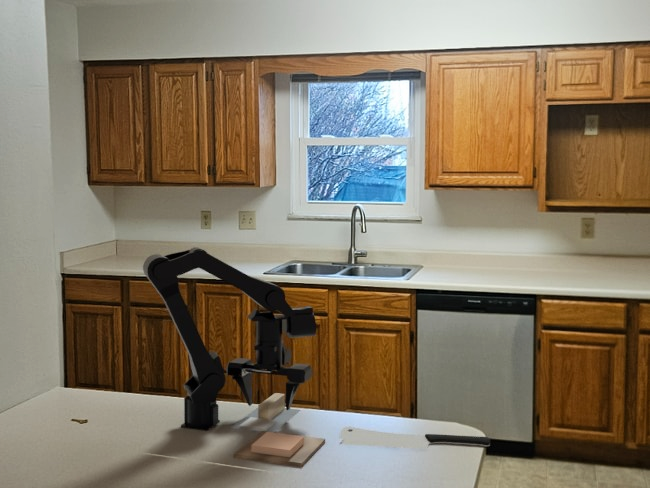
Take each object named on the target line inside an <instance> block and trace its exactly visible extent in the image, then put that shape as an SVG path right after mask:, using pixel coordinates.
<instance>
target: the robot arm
mask: <svg viewBox="0 0 650 488" xmlns="http://www.w3.org/2000/svg"><path fill="white" fill-rule="evenodd" d="M196 269H200V270H202V271H204V272H206V273H208V274H210V275H212V276H214V277H216V278H218V279H219V280H221V281H223V282H225V283H226V284H229V285H230V286H232V287H234V288H236V289H238V290H240V291H241V292H242V293H244V294H245V295H246V296H247V297H248V298H250V299H251V301H253V302H255V303H256V304H257V305H258V306H260V307H262V308H263V309H264V310H266V311H259V310H258V309H257V308H254V309H253V310H252V312H251V313H249V314H248V315H247V317H246V318H247V319H248V320H250V321H251V322H256V343H255V345H254V346H253V348H254V349H253V351H254V350H255V351H256V360H255V361H256V362H255V363H253V361H252V359H251V358H244V357H243V358H242V357H236V358H235V359H233V360H231V361H229V362H228V363H227V364H226V369H225V368H224V367H223V365H222V361H221V358H220V356H219V354H218V353H216V351H214V350H210V352H209V351H208V349H207V348H206V345H205V344H204V341H203V339H202V337H201V334H200V333H199V331H198V328H197V326H196V324H195V322H194V320H193V318H192V315H191V313H190V312H189V309H188V307H187V304H186V302H185V300H184V298H183V296H182V293H181V289H180V284H179V278H178V276H182V275H184V274H186V273H188V272H192V271H194V270H196ZM142 270H143V273H144V275H145V277H146V278H147V280H148V281H149V283H150V284H151V285H152V286H153V288H154V290H156V292H157V293H158V294H159V296H160V298H162V300H163V302H164V304H165V307H166V309H167V311H168V314H169V315H170V318H171V319H172V321H173V323H174V326H175V328H176V330H177V332H178V334H179V337H180V339H181V341H182V342H183V345H184V347H185V349H186V351H187V354H188V357H189V364H190V369H191V371H192V375H191V376H190V377H189V378H188V379H187V381H185V382H184V383H183V388H184V391H185V393H186V394H187V396H185V397H184V399H183V404H184V405H183V407H184V409H183V411H184V413H183V414H184V415H183V416H184V422H183V423H182V424H181V425H180V428H183V429H189V430H196V431H197V430H198V431H205V432H207V431H209V430H210V429H212V428H213V427H215V426H216V425H218V424H220V423H221V420H220V419H219V404H217V397H218V394H219V392H221V391H222V390H223V388H224V386H225V384H226V382H227V381H226V380H227V378H226V376H230V377H231V379H232V380H235V382H236V384H237V386H238V387H239V388H240V390H241V393H242V394H243V397H244V398H245V401H246V403H247V405H248V406H249V407H251V406H252V404H253V385H252V384H253V383H252V381H253V376H254V374H255V373H256V374H264V375H274V376H275V375H276V376H283V377H286V378H287V380H288V381H287V382H285V408H286V410H289V409H291V406H292V404H293V401H294V399H295V394H296V393H297V390H298V388H299V386H300V385H302V384H304V383H306V382H308V380H310V379H311V378H312V377H313V368H312V367H311V365H310V364H305V363H294V364H292V365H291V366H290V367H288V366H285V365H290V364H291V359H292V350H291V349H288V348H285V347H286V346H285V345H286V344H285V341H283V334H284V335H285V334H286V335H287V337H288V338H289V339H293V338H294V339H295V338H306V337H307V338H308V337H310V338H311V337H315V335H316V333H317V327H318V326H317V325H318V324H317V322H316V317H315V316H316V315H315V314H314V308H313V307H311V306H303V307H292V306H290V304H289V303H288V301H287V300H286V294H285V291H284V289H283V288H281V286H279V285H276V284H274V283H273V282H271V281H267V280H264V279H261V278H259V277H255V276H251V275H248V274H246V273H244V272H243V271H240V270H238V269H237V268H235V267H233V266H232V265H229V264H227V263H226V262H225V261H222V260H220V259H219V258H217V257H215V256H213V255H212V254H209V253H208V252H207V251H206V250H205V249H203V248H201V247H192V248H190V249H186V250H183V251H177V252H173V253H169V254H165V255H162V254H159V253H155V254H151V255H149V256H148V257H147V258H146V259H145V261H144V263H143V265H142ZM275 311H277V312H278V313H280V314H275V313H274V312H275ZM225 374H226V375H225Z"/></svg>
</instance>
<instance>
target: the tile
mask: <svg viewBox="0 0 650 488" xmlns="http://www.w3.org/2000/svg"><path fill="white" fill-rule="evenodd" d="M281 433H282V432H276V433H273V432H266V433H265V434H264V435H263V436H262V437H260V438H259V439H258V440H257V441H256V442H254V443H253V444H252V445H251V452H253V453H259V454H266V455H273V456H280V457H287V458H290V457H291V456H292V455H293V454H294V453H295V452H296V451H297V450H298V449H299V448H300V447H301V446H302V445H303V444H304V436H305V435H300V436H296V435H297V434H292V435H288V434H289V433H284V434H281Z"/></svg>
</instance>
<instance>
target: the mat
mask: <svg viewBox="0 0 650 488" xmlns="http://www.w3.org/2000/svg"><path fill="white" fill-rule="evenodd" d="M300 411H301V409H295V408H290V409H289V410H286V407H285V409H284V410H282V411H281V412H280V413H279V414H277V415H276V416H275V417H274V418H272V419H271V420H276V423H275V424H274V425H273V426H271V427H270V428H269V429H268V430H266V431H269V432H276V433H277V432H278V430H279V429H280V428H281V427H283V426H284V425H285V424H286V423H287V422H289V421H290V420H291V419H293V417H294V416H296V415H297V414H298V413H299V412H300ZM250 417H254V418H258V407H256V408H255V409H254V410H252V411H251V412H250V413H248V414H247V415H246V416H244V417H243V418H241V419H239V420H238V421H237V422H235V424H232V426H230V427H229V429H234V430H241V431H242V430H243V431H250V432H256V433H260V432H261V431H257V430H249V429H242V428H239V425H241V424H242V423H243V422H245V421H246V420H247V419H249V418H250Z"/></svg>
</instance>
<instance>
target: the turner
mask: <svg viewBox="0 0 650 488" xmlns="http://www.w3.org/2000/svg"><path fill="white" fill-rule="evenodd" d="M257 408H258V418H254V417H250V418H249V419H247V420H246V421H245V422H243V423H242V424H241V425H239V428H242V429H249V430H257V431H266V430H268V429H269V428H270V427H271V426H273V425H274V424H275V423H276V420H271V419H272V418H274V417H275V416H276V415H277V414H279V413H280V412H281V411H282V410H284V409H285V408H286V393H278V392H275V393H273V394H272V395H270V396H269V397H268V398H266V399H265V400H263V401H262V402H260V403H259V404H258V405H257Z"/></svg>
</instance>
